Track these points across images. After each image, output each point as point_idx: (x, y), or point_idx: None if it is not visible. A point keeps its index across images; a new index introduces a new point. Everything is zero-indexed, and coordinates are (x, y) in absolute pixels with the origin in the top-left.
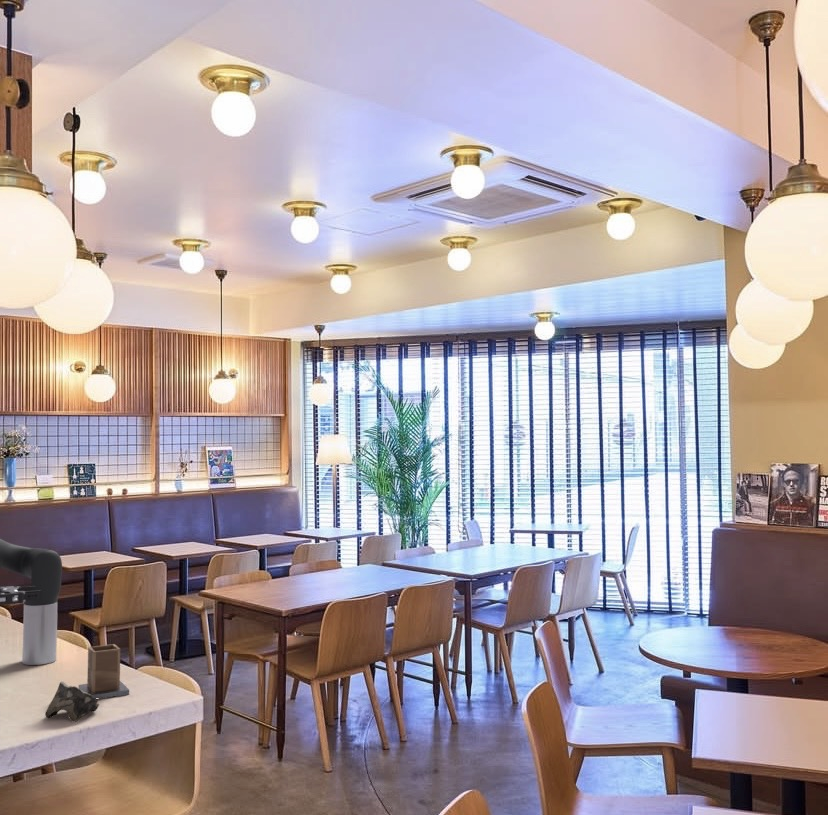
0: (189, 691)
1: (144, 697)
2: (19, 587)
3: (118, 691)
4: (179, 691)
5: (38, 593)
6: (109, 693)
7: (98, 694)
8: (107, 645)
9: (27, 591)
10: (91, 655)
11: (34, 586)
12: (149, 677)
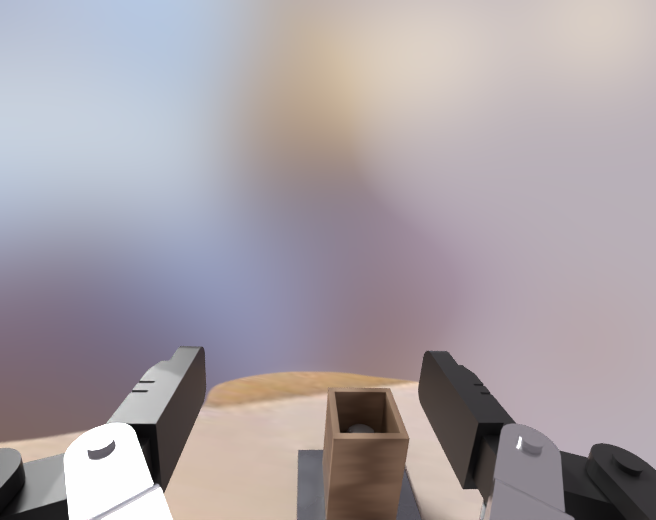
0: (406, 384)
1: (425, 439)
2: (134, 437)
3: (404, 469)
4: (402, 393)
5: (469, 375)
6: (410, 489)
7: (419, 514)
8: (335, 400)
9: (486, 411)
10: (382, 450)
11: (200, 350)
12: (284, 405)
